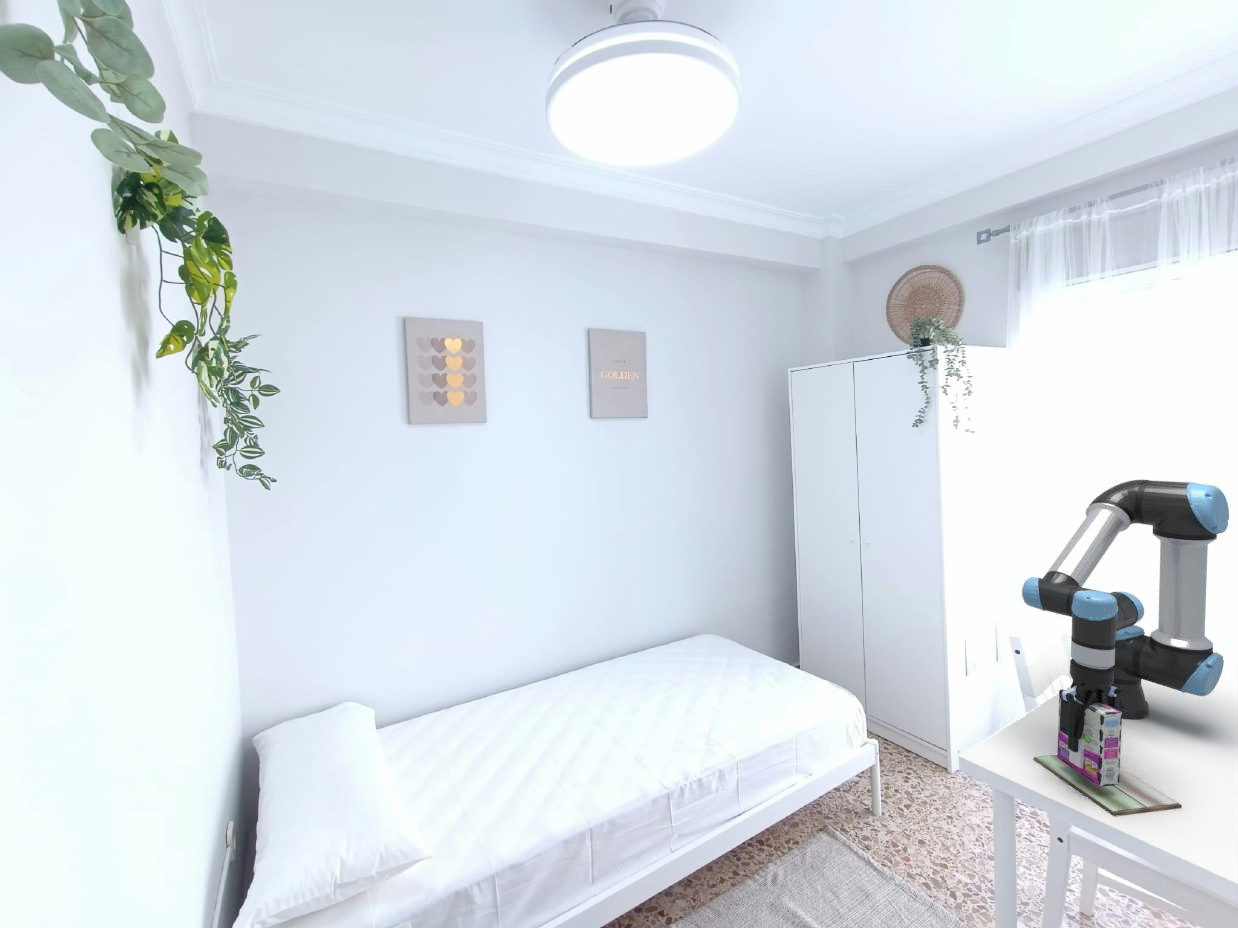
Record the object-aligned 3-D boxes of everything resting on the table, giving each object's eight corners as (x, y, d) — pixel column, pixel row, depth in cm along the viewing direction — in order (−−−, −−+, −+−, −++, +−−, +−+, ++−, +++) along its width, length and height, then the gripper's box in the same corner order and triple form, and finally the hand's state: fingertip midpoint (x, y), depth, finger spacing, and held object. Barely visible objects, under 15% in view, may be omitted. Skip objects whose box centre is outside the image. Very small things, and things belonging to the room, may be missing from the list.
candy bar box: (1121, 785, 125) (1124, 712, 123) (1099, 787, 124) (1102, 714, 123) (1075, 755, 136) (1077, 687, 134) (1055, 757, 135) (1057, 689, 134)
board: (1092, 752, 141) (1092, 749, 141) (1181, 807, 122) (1181, 803, 122) (1033, 759, 140) (1033, 756, 139) (1113, 815, 120) (1114, 812, 120)
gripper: (1111, 652, 133) (1107, 749, 135) (1040, 658, 130) (1036, 757, 132) (1145, 666, 125) (1139, 769, 127) (1070, 672, 123) (1066, 777, 125)
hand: (1087, 762), depth 130 cm, fingers closed on candy bar box, 5 cm apart
